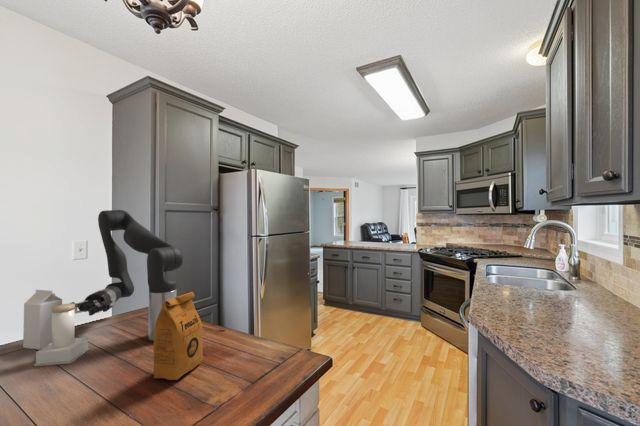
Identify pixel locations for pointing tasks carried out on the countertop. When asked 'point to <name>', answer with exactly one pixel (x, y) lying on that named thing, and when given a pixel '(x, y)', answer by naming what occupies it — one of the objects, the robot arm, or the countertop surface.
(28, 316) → the milk carton
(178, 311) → the coffee package
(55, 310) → the jar
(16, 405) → the countertop surface
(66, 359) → the riser
